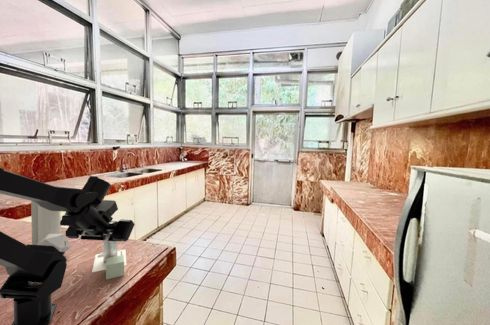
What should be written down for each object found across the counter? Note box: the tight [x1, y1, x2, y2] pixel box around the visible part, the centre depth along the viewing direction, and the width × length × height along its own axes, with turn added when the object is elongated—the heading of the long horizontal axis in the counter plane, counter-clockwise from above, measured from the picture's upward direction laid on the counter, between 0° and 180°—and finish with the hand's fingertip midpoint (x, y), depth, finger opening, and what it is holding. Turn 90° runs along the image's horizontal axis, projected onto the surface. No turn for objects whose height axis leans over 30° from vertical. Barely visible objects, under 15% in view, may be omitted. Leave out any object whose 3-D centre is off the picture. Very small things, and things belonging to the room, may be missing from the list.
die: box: [37, 233, 72, 253], centre depth 71 cm, size 8×9×10 cm
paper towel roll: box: [30, 200, 62, 245], centre depth 76 cm, size 7×6×21 cm
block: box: [105, 255, 125, 280], centre depth 63 cm, size 4×4×4 cm
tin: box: [102, 220, 119, 263], centre depth 70 cm, size 4×4×12 cm
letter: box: [91, 249, 127, 274], centre depth 71 cm, size 12×9×1 cm
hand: (113, 239), depth 72 cm, fingers open, 5 cm apart
